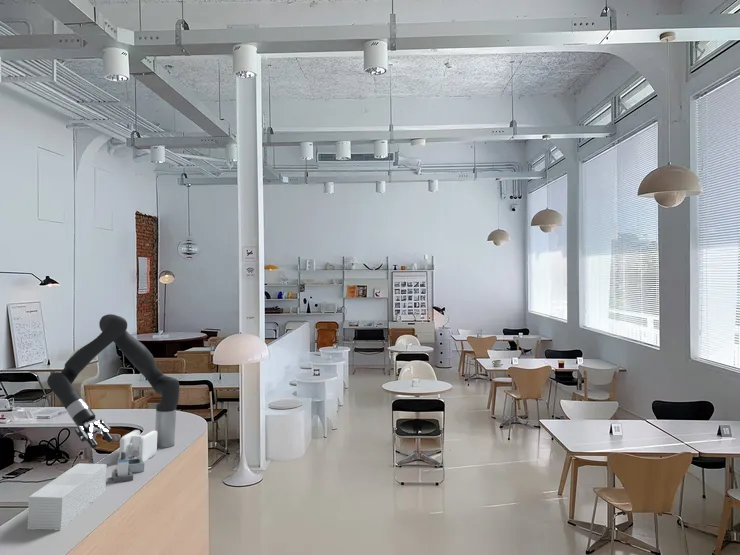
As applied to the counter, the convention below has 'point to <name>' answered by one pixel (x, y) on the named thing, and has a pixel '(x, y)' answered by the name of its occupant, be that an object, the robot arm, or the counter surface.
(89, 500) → the stack of papers
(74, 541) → the counter surface
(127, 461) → the plug
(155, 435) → the cable organizer
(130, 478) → the holster
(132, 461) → the port
